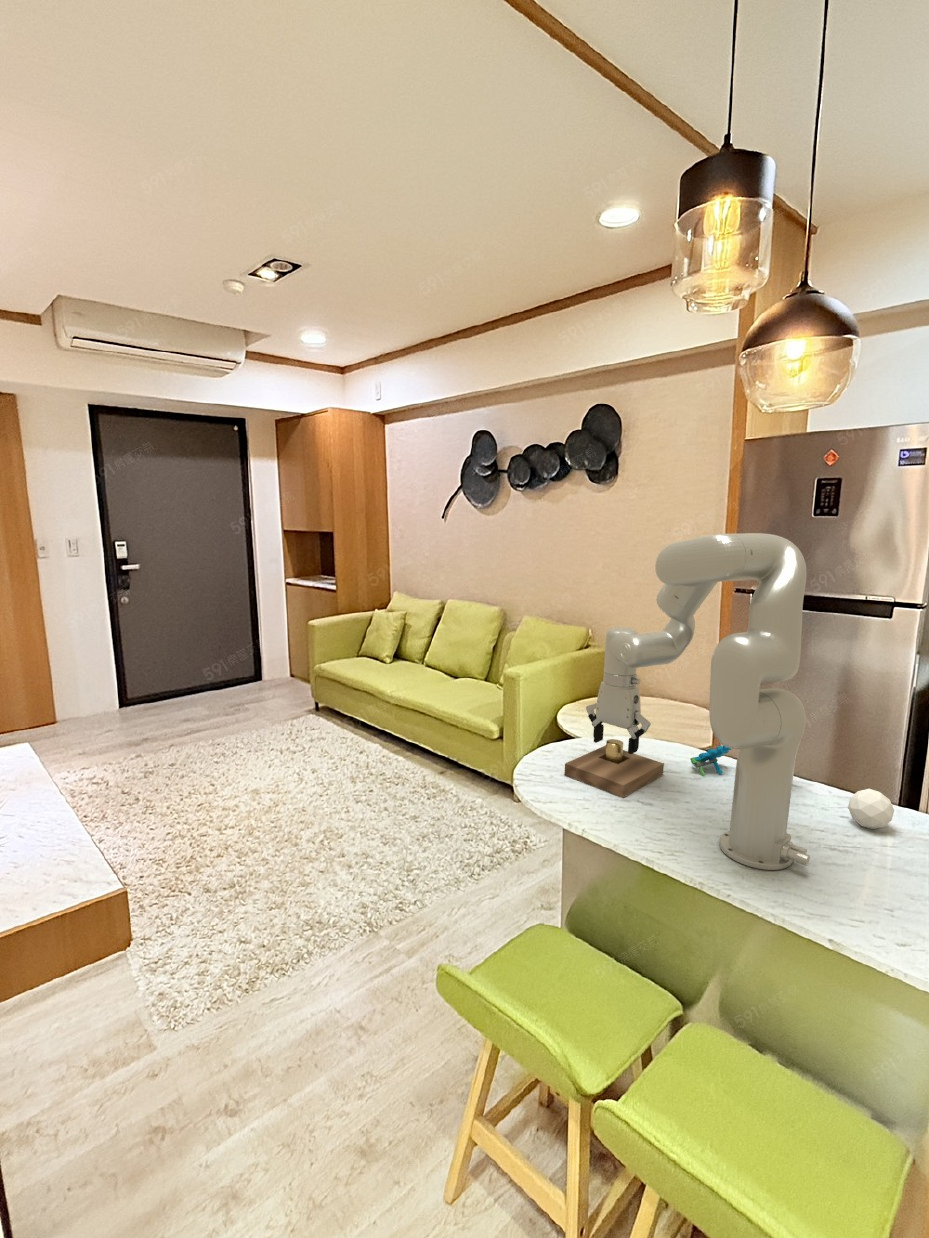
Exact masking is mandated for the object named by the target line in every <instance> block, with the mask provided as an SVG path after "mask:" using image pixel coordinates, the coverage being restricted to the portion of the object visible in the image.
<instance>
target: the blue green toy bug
mask: <svg viewBox="0 0 929 1238" xmlns="http://www.w3.org/2000/svg"><path fill="white" fill-rule="evenodd" d="M730 750H732V749H731V748H728V747H726V746H724V745H718V746H717V747H716V749H713V748H710V749H707V751H706V752H700V753H699V754H698V756H693V757H691V758H690V759H689V760H690V762H691V765H693V766H695V768H698V770H699V772H700V774H701V776H702V777H704V776H706V773H705V772H704V769H703V767H704V766H708V765H711V764H713V767H714V768H715V770H716V772H717V773H718V775H719V774H720V775H722V774H723V773H724V772H723V771H722V769H721V766H720V764H719V763H718V761H719V760H718V759H717V758H719V759H720V758H721V757H723V756H724V755H726V754H728V753H729V751H730Z"/></svg>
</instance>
